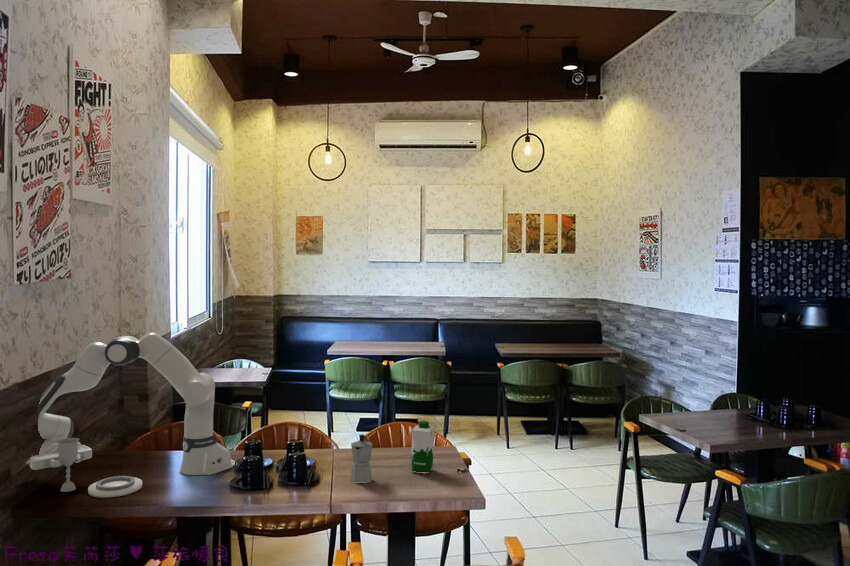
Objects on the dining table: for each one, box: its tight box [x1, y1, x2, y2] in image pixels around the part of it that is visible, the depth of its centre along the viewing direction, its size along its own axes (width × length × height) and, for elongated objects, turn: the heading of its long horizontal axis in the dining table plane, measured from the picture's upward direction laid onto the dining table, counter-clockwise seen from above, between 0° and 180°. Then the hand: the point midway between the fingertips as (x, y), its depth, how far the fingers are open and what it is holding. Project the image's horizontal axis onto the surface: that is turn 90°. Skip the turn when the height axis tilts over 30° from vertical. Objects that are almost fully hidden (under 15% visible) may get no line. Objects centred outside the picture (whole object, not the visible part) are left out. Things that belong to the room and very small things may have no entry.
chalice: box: [57, 437, 80, 493], centre depth 224 cm, size 7×7×18 cm
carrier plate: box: [87, 475, 143, 499], centre depth 228 cm, size 18×18×3 cm
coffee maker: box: [349, 434, 373, 483], centre depth 243 cm, size 15×9×18 cm, turn 168°
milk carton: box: [411, 420, 435, 472], centre depth 255 cm, size 9×9×20 cm
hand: (69, 462), depth 224 cm, fingers closed on chalice, 5 cm apart
